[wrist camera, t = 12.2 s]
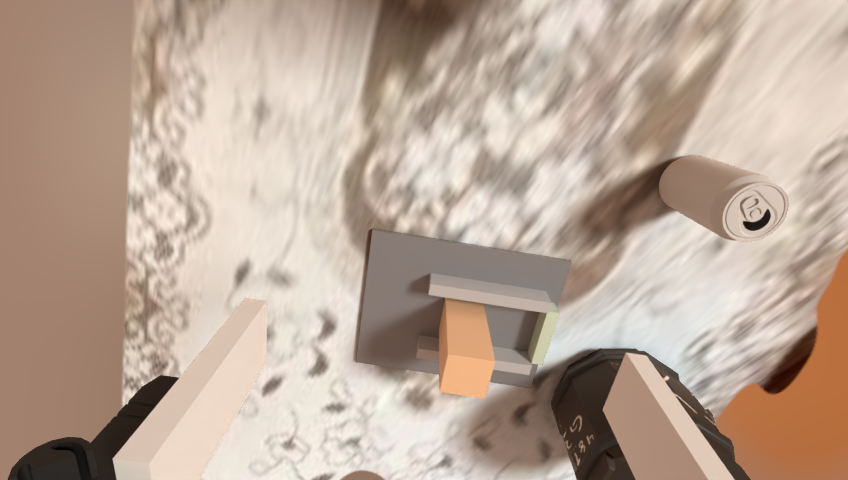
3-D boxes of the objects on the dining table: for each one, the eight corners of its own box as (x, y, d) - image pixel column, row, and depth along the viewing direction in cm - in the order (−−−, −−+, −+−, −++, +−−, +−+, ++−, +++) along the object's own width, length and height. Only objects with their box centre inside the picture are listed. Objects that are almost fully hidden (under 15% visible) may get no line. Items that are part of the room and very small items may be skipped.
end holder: (373, 228, 52) (368, 239, 49) (569, 260, 53) (578, 272, 50) (356, 359, 60) (351, 376, 56) (529, 385, 61) (535, 403, 57)
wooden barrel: (685, 422, 63) (760, 529, 48) (564, 450, 65) (601, 559, 51) (668, 324, 56) (750, 412, 42) (536, 358, 59) (569, 453, 44)
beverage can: (667, 217, 51) (732, 258, 40) (646, 172, 49) (709, 202, 38) (720, 189, 49) (802, 223, 38) (701, 142, 47) (782, 164, 36)
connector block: (445, 296, 55) (448, 354, 44) (483, 302, 55) (495, 361, 44) (438, 328, 57) (439, 391, 46) (475, 334, 57) (485, 398, 46)
